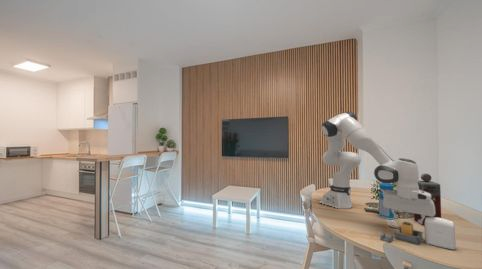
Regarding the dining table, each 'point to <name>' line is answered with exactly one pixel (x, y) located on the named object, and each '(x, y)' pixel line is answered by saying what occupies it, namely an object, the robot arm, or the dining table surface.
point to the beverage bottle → (383, 211)
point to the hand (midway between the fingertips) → (407, 220)
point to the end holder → (410, 237)
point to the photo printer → (440, 232)
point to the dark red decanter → (435, 195)
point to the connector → (407, 228)
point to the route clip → (386, 238)
